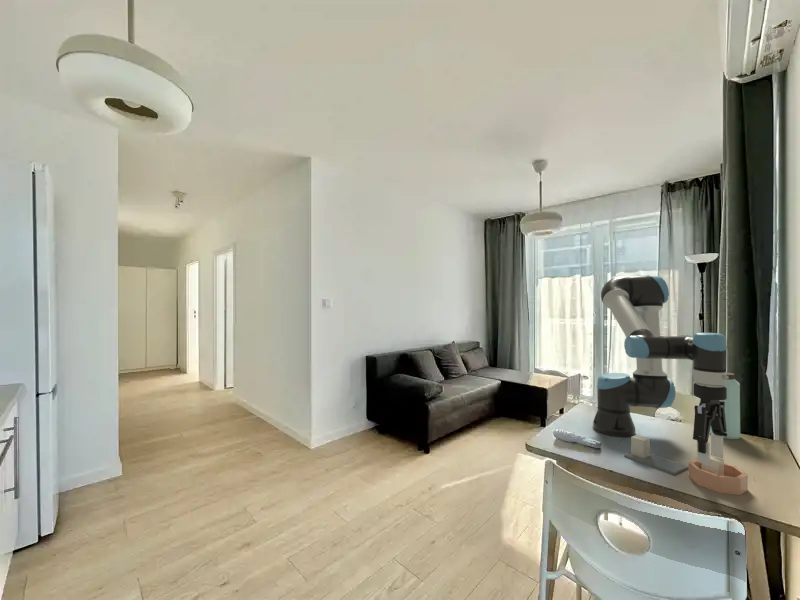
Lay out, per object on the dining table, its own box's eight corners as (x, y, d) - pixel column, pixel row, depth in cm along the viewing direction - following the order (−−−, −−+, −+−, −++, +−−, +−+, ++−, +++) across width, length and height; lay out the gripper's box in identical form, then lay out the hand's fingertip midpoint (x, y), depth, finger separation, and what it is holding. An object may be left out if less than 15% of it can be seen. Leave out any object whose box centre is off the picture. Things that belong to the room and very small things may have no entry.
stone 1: (631, 454, 123) (631, 436, 123) (637, 451, 125) (637, 434, 125) (643, 458, 119) (643, 440, 119) (650, 455, 121) (649, 438, 121)
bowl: (683, 479, 107) (683, 464, 107) (701, 469, 113) (701, 455, 113) (735, 498, 96) (735, 482, 96) (752, 487, 102) (752, 471, 102)
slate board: (624, 456, 122) (624, 454, 122) (638, 451, 127) (638, 449, 127) (674, 475, 109) (674, 472, 109) (688, 468, 114) (688, 466, 114)
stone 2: (701, 476, 106) (701, 456, 106) (706, 474, 108) (707, 454, 108) (718, 482, 103) (718, 461, 103) (723, 480, 105) (724, 459, 105)
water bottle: (733, 442, 134) (732, 376, 134) (702, 433, 143) (701, 372, 143) (747, 438, 138) (746, 374, 138) (715, 429, 147) (715, 369, 147)
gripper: (709, 391, 98) (710, 473, 97) (740, 382, 108) (741, 456, 108) (677, 386, 104) (678, 463, 104) (710, 378, 114) (710, 448, 114)
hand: (710, 459), depth 106 cm, fingers open, 8 cm apart
